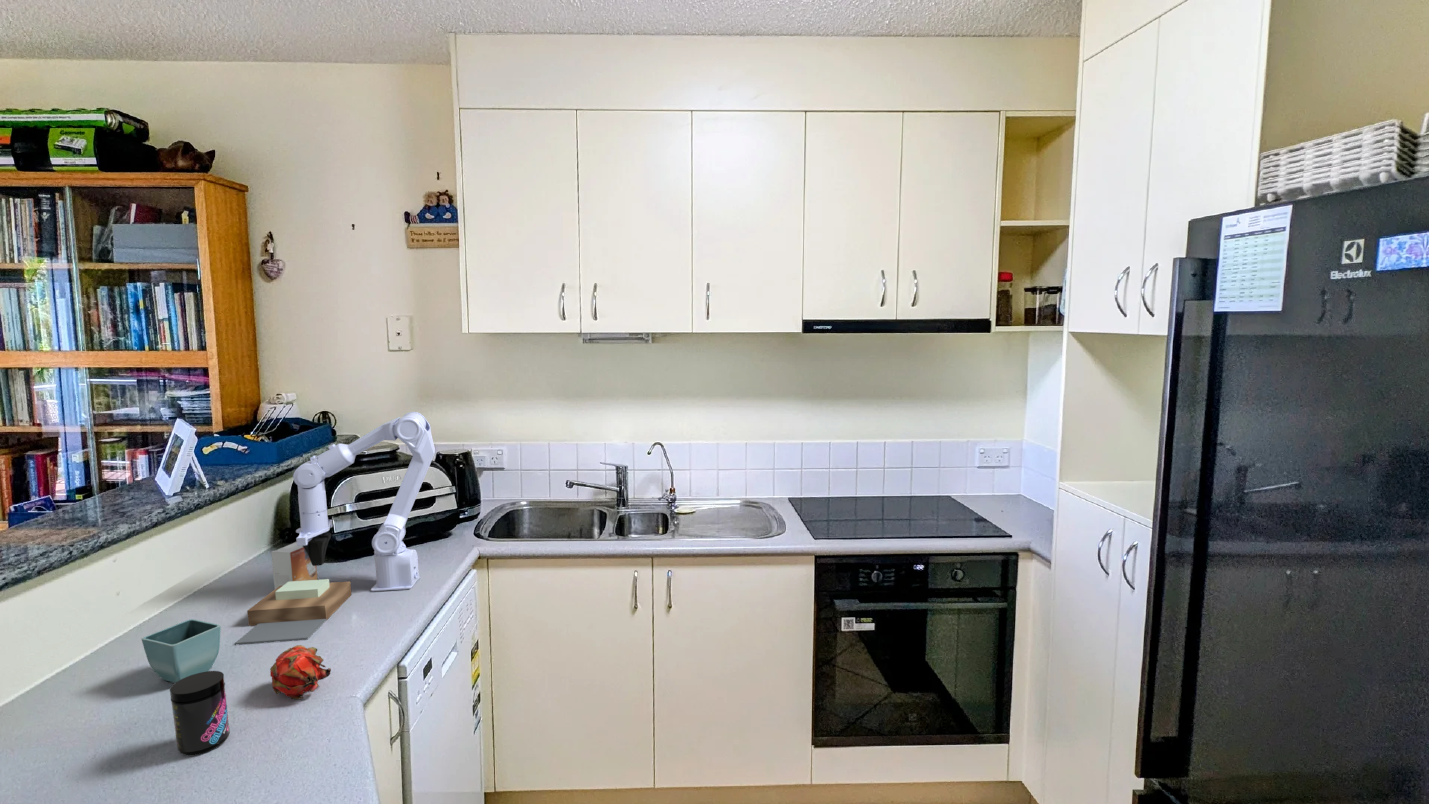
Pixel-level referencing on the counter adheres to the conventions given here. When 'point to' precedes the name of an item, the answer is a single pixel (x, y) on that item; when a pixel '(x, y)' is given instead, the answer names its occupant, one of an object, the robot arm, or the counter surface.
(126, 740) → the counter surface
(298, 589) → the sage green block
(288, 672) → the dragon fruit
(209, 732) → the supplement container
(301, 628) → the mat
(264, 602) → the brown flat block
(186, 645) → the flower pot
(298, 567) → the small box
